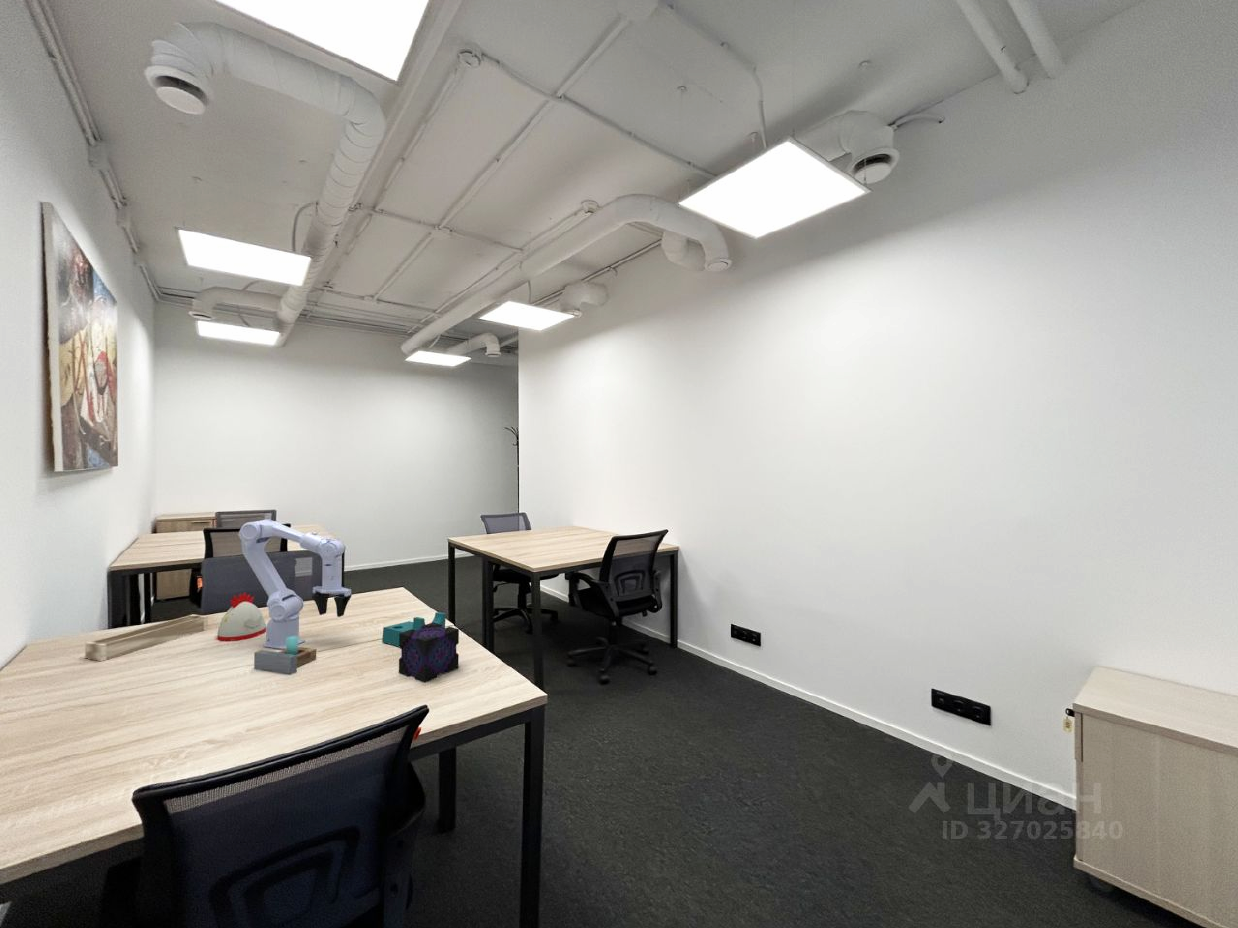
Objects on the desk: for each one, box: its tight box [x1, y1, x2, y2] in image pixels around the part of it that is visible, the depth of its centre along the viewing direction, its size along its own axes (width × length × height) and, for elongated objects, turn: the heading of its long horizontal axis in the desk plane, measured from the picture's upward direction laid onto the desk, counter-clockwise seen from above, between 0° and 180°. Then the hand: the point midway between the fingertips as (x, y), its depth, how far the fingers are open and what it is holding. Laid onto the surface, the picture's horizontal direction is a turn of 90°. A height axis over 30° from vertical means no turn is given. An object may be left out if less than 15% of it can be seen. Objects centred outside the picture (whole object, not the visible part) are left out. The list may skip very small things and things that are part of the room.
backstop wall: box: [253, 649, 298, 675], centre depth 145 cm, size 14×2×5 cm, turn 75°
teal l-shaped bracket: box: [381, 611, 447, 647], centre depth 169 cm, size 18×11×10 cm, turn 63°
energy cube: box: [398, 621, 460, 684], centre depth 146 cm, size 12×12×12 cm
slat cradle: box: [84, 614, 209, 662], centre depth 166 cm, size 7×30×5 cm, turn 165°
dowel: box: [285, 636, 299, 655], centre depth 150 cm, size 3×3×8 cm
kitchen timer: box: [216, 592, 267, 643], centre depth 174 cm, size 14×14×15 cm
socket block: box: [278, 646, 317, 668], centre depth 150 cm, size 9×9×3 cm
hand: (331, 614), depth 166 cm, fingers open, 7 cm apart
